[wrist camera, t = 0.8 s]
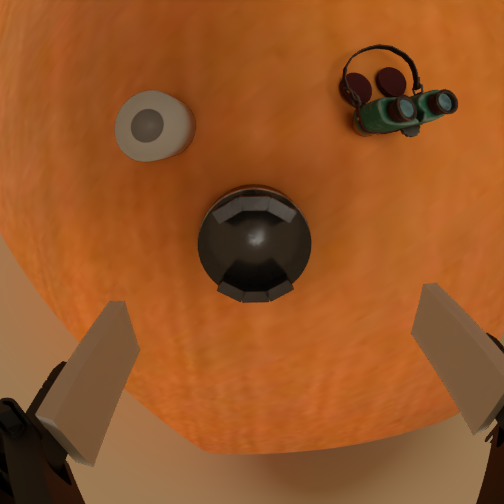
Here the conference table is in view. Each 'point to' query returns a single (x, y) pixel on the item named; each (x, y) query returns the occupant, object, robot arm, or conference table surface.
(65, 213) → the conference table surface
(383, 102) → the binoculars
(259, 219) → the black round base
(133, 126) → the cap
